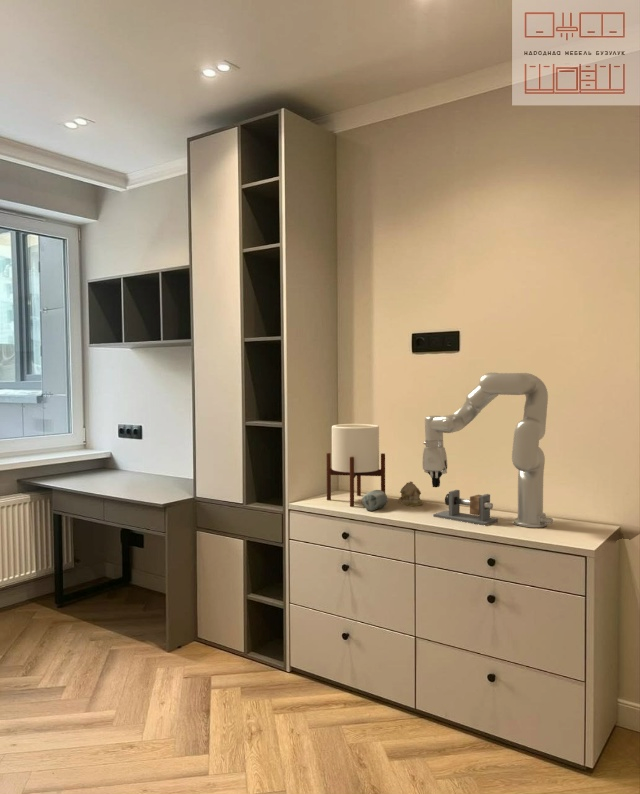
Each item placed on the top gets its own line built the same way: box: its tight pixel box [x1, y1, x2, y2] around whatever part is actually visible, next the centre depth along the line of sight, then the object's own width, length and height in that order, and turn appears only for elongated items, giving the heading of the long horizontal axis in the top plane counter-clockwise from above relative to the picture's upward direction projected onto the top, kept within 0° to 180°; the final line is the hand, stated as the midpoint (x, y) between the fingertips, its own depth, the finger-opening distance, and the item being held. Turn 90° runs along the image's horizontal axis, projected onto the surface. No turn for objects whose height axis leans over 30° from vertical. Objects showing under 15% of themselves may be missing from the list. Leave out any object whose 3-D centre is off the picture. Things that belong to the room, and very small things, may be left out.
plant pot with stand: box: [326, 423, 386, 508], centre depth 294 cm, size 22×22×36 cm
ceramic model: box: [398, 481, 424, 507], centre depth 289 cm, size 14×11×10 cm
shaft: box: [444, 493, 494, 510], centre depth 254 cm, size 20×5×5 cm, turn 47°
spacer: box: [469, 494, 482, 516], centre depth 251 cm, size 4×7×7 cm, turn 137°
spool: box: [361, 489, 388, 512], centre depth 276 cm, size 14×10×10 cm
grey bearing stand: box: [432, 489, 498, 527], centre depth 255 cm, size 24×10×11 cm, turn 47°
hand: (436, 486), depth 267 cm, fingers closed
